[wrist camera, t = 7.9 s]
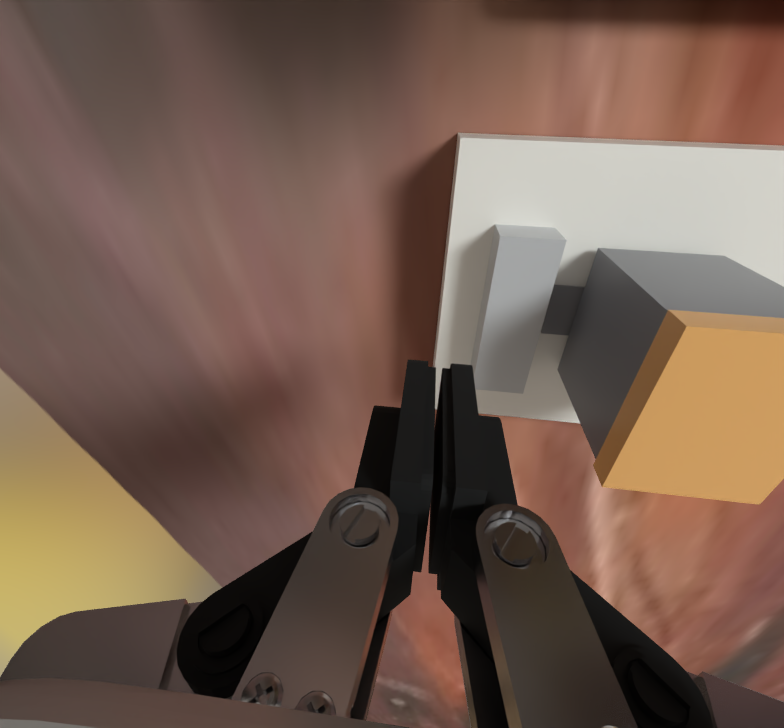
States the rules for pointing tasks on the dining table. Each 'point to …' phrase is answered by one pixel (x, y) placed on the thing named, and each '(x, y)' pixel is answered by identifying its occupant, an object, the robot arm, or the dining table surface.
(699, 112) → the dining table surface
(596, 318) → the knob
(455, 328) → the switch panel
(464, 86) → the dining table surface
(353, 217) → the dining table surface
